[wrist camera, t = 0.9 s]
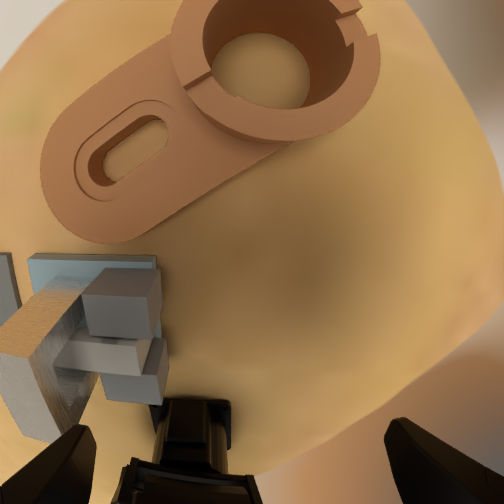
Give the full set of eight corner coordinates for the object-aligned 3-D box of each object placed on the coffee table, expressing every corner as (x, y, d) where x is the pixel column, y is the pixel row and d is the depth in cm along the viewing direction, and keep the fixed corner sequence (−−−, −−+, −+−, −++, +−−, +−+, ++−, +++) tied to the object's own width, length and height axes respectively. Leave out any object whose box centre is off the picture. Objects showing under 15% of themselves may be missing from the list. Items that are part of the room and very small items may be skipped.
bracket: (283, 0, 15) (310, -58, 8) (351, 107, 17) (412, 91, 11) (42, 151, 16) (-26, 158, 10) (106, 255, 19) (60, 303, 12)
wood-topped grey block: (109, 354, 20) (68, 448, 11) (72, 350, 19) (23, 435, 11) (95, 277, 18) (27, 358, 10) (55, 276, 17) (-20, 347, 9)
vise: (171, 361, 21) (162, 414, 16) (57, 350, 21) (29, 393, 15) (163, 255, 19) (143, 293, 14) (35, 253, 18) (-8, 283, 13)
